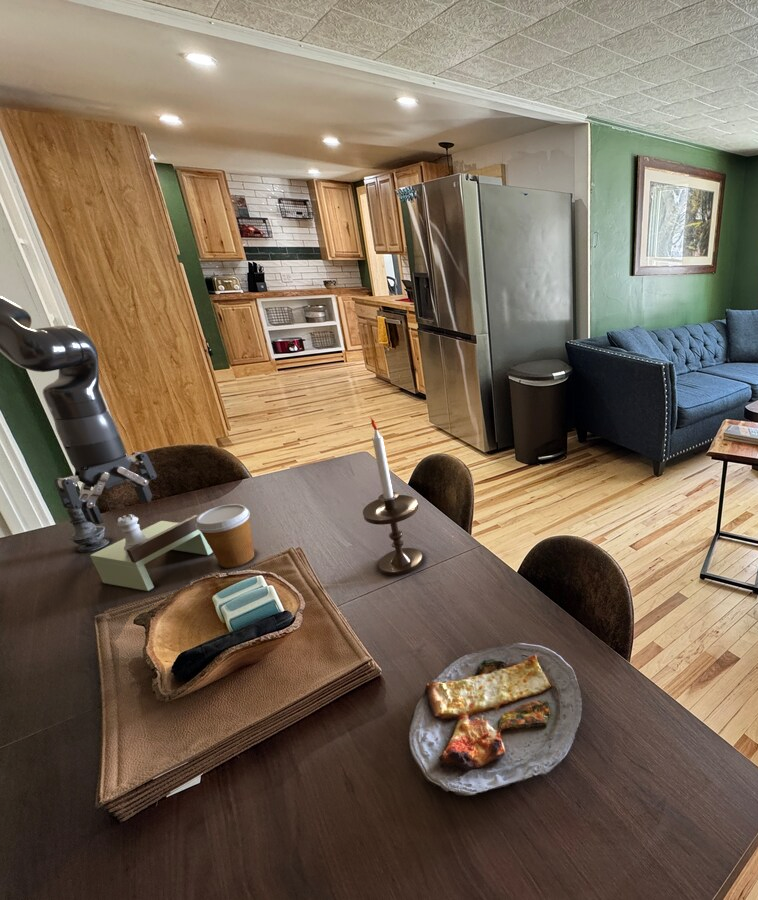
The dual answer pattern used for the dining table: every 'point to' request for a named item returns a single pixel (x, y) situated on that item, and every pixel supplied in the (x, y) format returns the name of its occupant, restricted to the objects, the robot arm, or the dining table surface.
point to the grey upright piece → (86, 532)
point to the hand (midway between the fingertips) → (122, 512)
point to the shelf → (148, 552)
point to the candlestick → (392, 516)
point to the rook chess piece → (131, 531)
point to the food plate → (495, 718)
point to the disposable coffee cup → (228, 533)
